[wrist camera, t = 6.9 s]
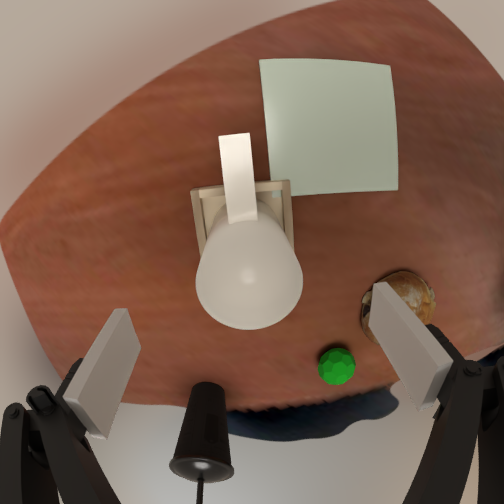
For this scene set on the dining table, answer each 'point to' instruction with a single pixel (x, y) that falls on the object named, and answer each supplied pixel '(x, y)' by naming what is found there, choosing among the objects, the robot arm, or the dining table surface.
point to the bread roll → (409, 292)
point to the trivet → (330, 125)
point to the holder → (213, 198)
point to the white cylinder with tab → (246, 251)
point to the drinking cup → (204, 439)
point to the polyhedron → (336, 366)
